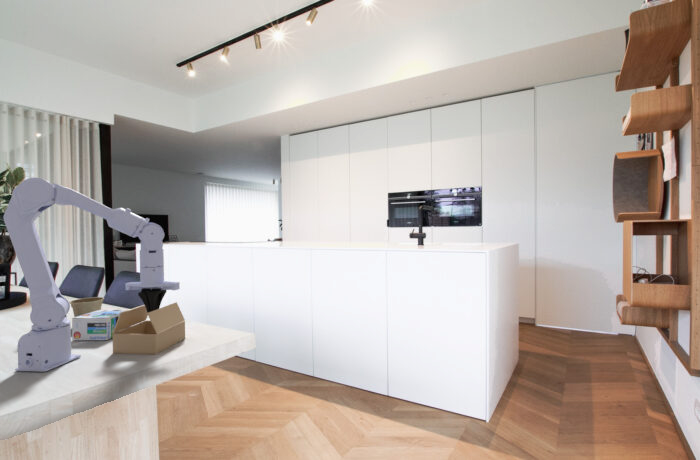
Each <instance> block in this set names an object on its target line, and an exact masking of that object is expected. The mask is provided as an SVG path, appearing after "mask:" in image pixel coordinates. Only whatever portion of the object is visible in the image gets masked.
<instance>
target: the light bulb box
mask: <svg viewBox="0 0 700 460" xmlns="http://www.w3.org/2000/svg"><path fill="white" fill-rule="evenodd" d="M127 310H128V309H101V310H97V311H94V312H91V313H87V314H84V315H81V316H77V317H74V316H73V317H72V318H71V341H108V340H110V339H113V336H112V334H114V333H113V330H114V328H115V325H116V323H117V320H118V318H119V316H120V313H121V312H124V311H127ZM128 328H129V327H128ZM125 329H126V328H125ZM122 330H124V329H122ZM120 331H121V330H120ZM117 332H119V331H117ZM115 333H116V332H115Z"/></svg>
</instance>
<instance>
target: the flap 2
mask: <svg viewBox="0 0 700 460" xmlns="http://www.w3.org/2000/svg"><path fill="white" fill-rule="evenodd" d="M147 314H148V316H147V317H148V318H149V321H151V323H152V325H153V327H154V329H155V331H156V334H157V333H159V332H161V331H164V330H166V329H168V328H170V327H172V326H174V325H176V324H178V323H180V322H183V321H185V318H184V315H183V313H182V311H181V308H180V306H179V304H178V302H174V303H171V304H168V305H165V306H163V307H159V309H157V310H154V311H151V312H149V313H147ZM185 322H186V321H185Z"/></svg>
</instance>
